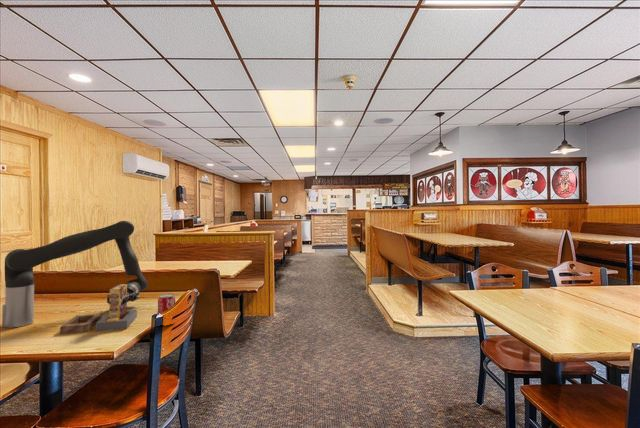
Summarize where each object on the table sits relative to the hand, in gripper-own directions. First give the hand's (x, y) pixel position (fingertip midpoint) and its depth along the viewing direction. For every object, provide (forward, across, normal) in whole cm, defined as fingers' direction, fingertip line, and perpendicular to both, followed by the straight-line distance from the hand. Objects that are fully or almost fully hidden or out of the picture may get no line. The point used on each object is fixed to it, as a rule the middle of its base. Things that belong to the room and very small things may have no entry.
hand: (117, 302), depth 138 cm
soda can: (+6, +21, +10) cm, 24 cm away
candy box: (-2, 0, +9) cm, 9 cm away
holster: (-1, -14, +10) cm, 17 cm away
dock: (-1, 0, +10) cm, 10 cm away
